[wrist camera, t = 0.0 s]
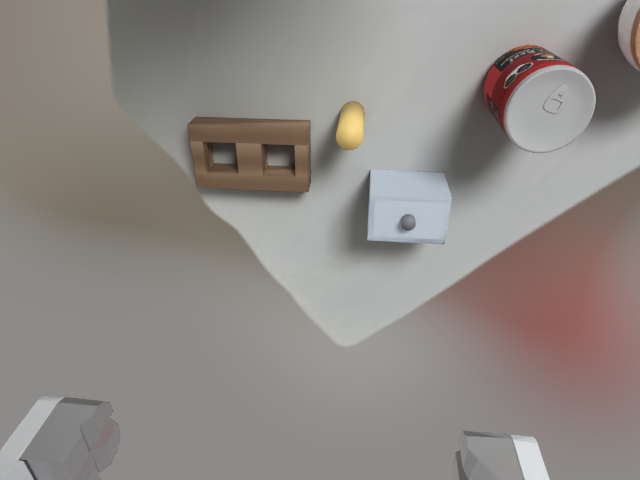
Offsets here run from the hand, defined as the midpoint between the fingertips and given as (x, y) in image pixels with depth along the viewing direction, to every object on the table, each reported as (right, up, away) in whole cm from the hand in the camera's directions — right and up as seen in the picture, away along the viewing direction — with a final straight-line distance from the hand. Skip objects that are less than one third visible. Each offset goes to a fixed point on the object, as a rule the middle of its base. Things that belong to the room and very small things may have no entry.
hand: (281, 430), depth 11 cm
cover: (+12, +10, +49) cm, 52 cm away
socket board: (-7, +16, +48) cm, 51 cm away
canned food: (+23, +22, +41) cm, 52 cm away
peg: (+5, +19, +44) cm, 49 cm away
